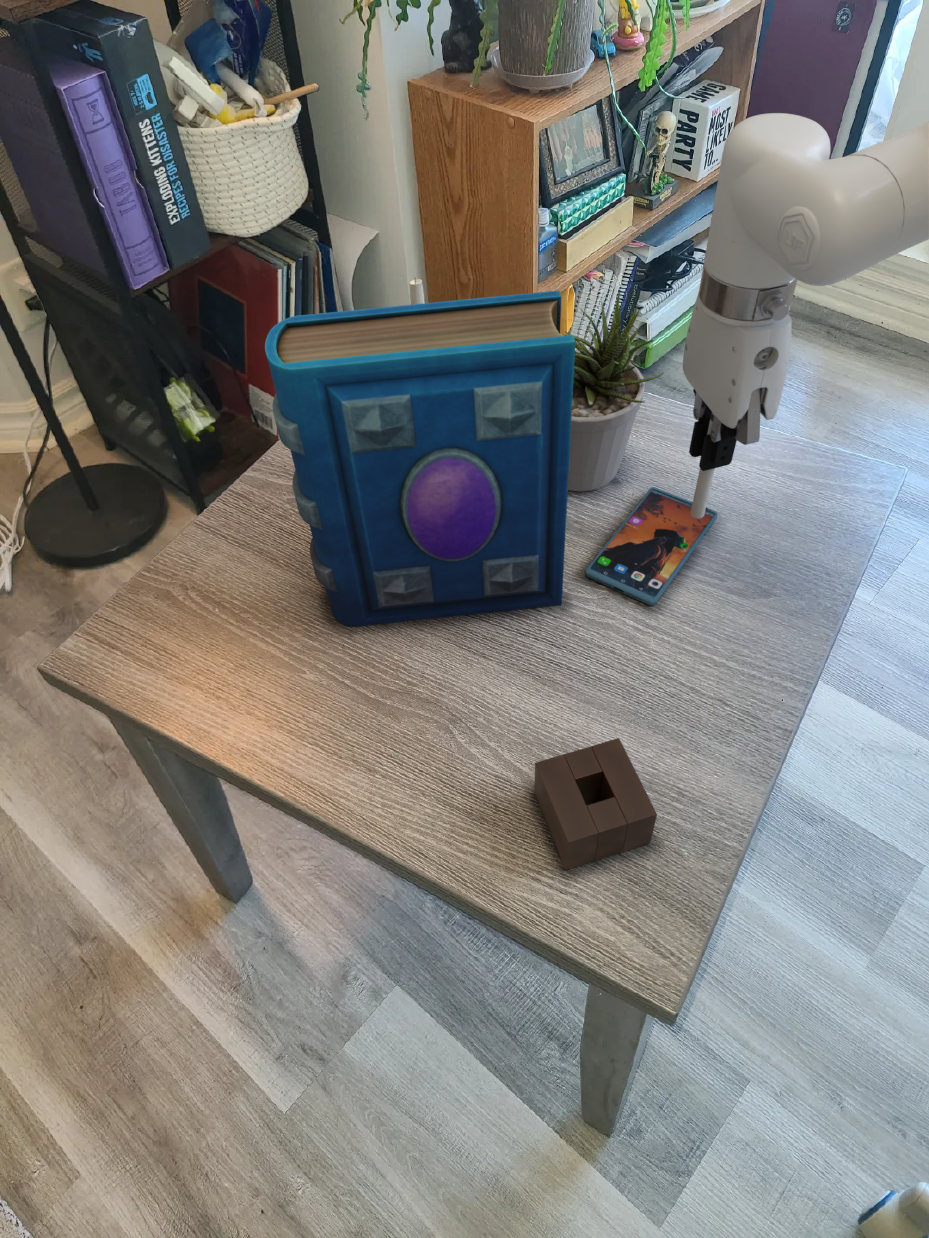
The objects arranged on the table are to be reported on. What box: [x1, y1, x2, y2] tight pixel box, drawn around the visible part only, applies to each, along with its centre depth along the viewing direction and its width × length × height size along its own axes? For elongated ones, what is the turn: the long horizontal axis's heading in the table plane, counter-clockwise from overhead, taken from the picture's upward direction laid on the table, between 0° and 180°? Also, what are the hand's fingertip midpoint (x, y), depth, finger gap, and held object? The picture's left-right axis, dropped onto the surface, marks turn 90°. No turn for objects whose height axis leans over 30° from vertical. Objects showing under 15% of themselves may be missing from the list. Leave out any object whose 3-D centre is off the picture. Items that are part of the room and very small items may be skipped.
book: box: [264, 289, 576, 628], centre depth 80 cm, size 24×9×30 cm, turn 95°
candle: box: [409, 276, 426, 305], centre depth 108 cm, size 5×5×16 cm
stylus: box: [691, 412, 716, 519], centre depth 88 cm, size 1×1×13 cm
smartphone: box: [584, 486, 719, 607], centre depth 94 cm, size 8×1×15 cm
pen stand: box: [533, 737, 658, 871], centre depth 73 cm, size 7×7×5 cm
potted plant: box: [563, 291, 664, 492], centre depth 95 cm, size 13×14×20 cm
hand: (709, 458), depth 87 cm, fingers closed on stylus, 1 cm apart
